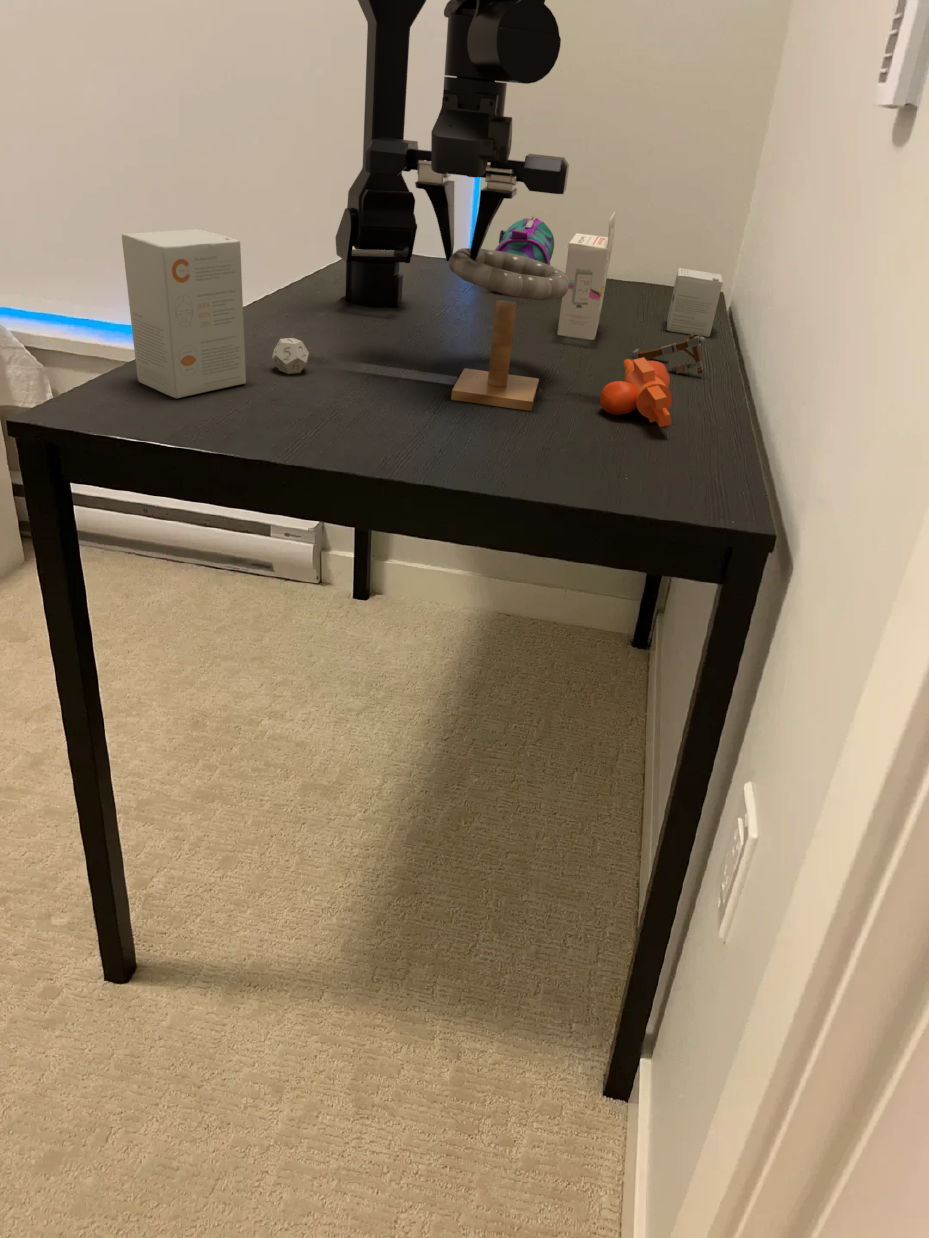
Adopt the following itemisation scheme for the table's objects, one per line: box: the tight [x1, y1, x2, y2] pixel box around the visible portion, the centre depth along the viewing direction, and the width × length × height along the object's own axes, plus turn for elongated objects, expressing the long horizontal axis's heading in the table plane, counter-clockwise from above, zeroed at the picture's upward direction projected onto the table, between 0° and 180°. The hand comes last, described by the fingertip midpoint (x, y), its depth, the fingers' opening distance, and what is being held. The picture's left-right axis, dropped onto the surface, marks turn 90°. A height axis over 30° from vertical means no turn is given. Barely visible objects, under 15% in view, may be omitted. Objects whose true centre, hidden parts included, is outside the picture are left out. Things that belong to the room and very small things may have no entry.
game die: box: [271, 337, 310, 375], centre depth 89 cm, size 4×4×3 cm
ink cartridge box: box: [556, 211, 616, 341], centre depth 109 cm, size 9×5×15 cm, turn 168°
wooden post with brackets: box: [633, 334, 706, 375], centre depth 103 cm, size 2×8×4 cm, turn 69°
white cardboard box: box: [665, 267, 724, 338], centre depth 121 cm, size 6×6×7 cm
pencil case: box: [494, 215, 555, 299], centre depth 133 cm, size 21×9×10 cm, turn 174°
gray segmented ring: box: [448, 247, 569, 300], centre depth 88 cm, size 12×12×2 cm
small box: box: [121, 228, 247, 399], centre depth 81 cm, size 8×6×13 cm
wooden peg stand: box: [450, 299, 540, 412], centre depth 88 cm, size 8×8×9 cm
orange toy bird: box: [599, 357, 673, 428], centre depth 87 cm, size 5×8×12 cm
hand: (460, 262), depth 88 cm, fingers closed on gray segmented ring, 2 cm apart
